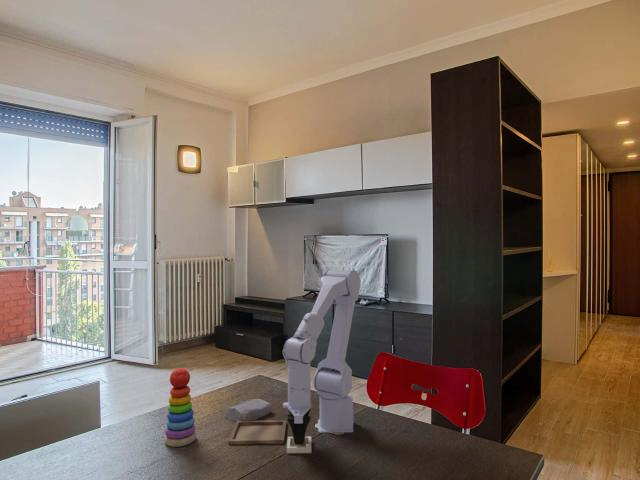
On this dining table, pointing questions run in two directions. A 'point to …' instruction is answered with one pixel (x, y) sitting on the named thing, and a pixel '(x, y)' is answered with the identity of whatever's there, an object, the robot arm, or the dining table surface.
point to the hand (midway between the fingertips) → (299, 440)
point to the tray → (258, 432)
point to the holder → (299, 448)
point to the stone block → (248, 410)
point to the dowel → (303, 443)
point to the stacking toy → (180, 411)
